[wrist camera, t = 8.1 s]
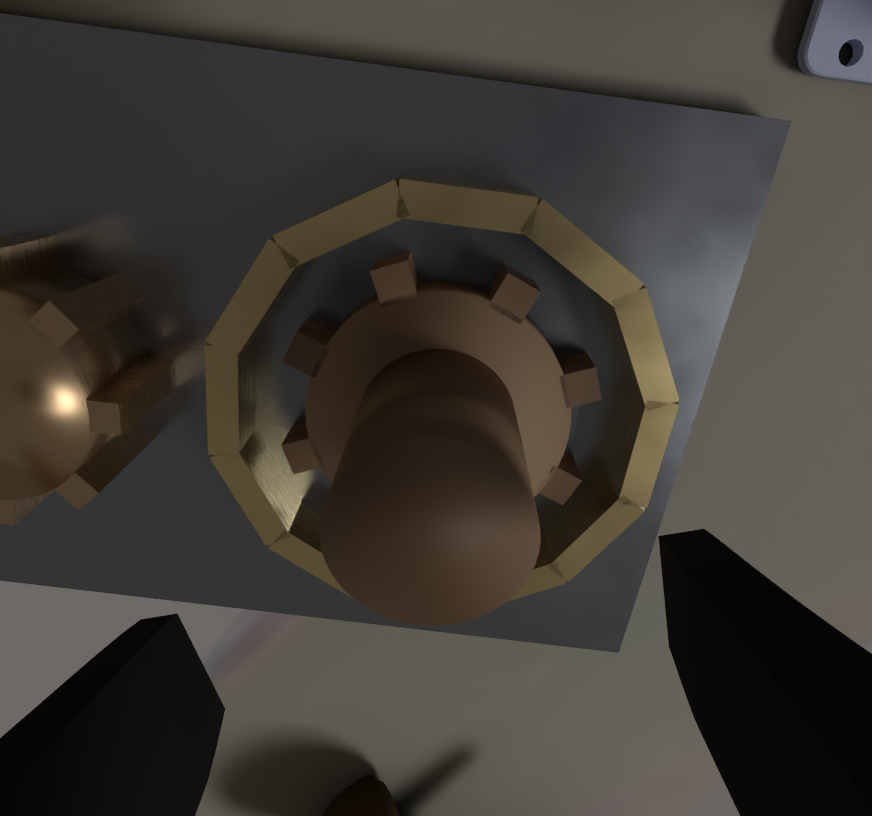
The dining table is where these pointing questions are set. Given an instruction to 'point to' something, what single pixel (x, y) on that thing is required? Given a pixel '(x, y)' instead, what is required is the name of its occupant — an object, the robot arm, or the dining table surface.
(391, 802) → the kendama
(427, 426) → the gear
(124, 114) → the carrier plate
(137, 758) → the robot arm
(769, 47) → the dining table surface
